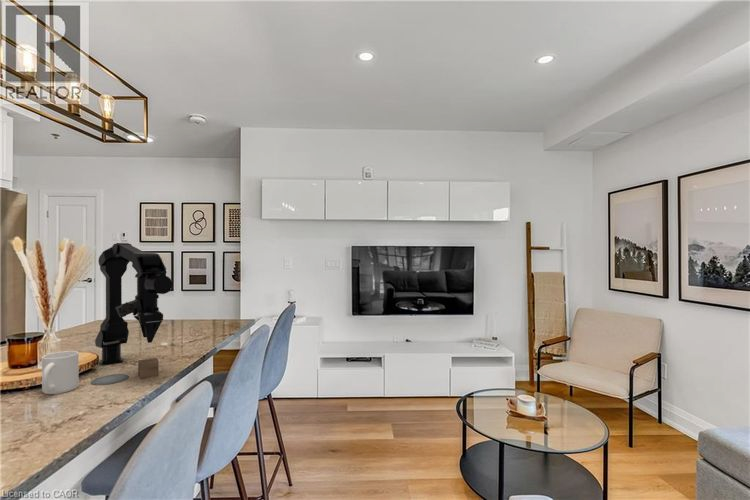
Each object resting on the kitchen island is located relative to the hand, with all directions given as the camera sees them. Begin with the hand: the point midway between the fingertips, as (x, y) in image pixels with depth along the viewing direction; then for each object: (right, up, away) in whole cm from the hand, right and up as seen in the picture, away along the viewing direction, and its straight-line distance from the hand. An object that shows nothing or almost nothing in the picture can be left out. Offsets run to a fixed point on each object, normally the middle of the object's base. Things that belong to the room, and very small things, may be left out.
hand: (147, 339), depth 125 cm
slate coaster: (-9, -12, -4) cm, 16 cm away
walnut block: (0, -12, 0) cm, 12 cm away
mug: (-18, -12, -14) cm, 26 cm away
